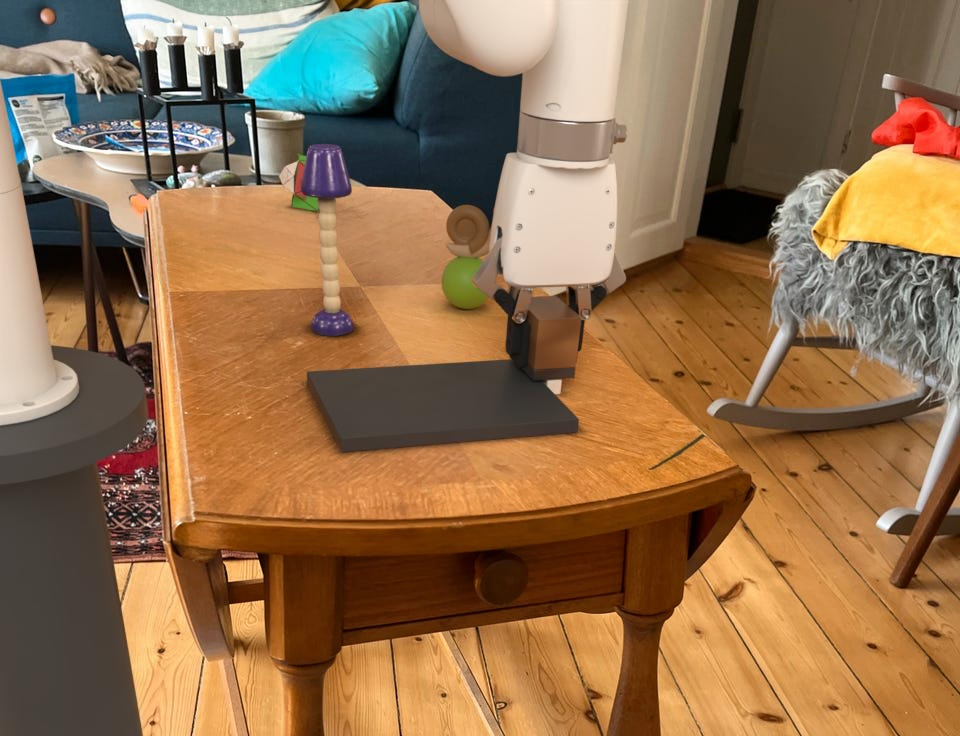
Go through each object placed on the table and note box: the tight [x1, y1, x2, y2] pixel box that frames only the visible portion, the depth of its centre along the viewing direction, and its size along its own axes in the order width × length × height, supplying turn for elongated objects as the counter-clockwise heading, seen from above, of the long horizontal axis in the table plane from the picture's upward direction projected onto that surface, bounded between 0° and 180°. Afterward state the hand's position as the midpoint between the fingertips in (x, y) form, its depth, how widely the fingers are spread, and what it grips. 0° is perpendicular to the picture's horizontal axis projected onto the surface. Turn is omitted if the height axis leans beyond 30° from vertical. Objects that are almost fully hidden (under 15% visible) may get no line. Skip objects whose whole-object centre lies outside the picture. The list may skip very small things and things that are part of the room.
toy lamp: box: [301, 143, 355, 337], centre depth 98 cm, size 5×5×17 cm
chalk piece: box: [542, 379, 563, 395], centre depth 93 cm, size 1×2×1 cm
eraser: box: [521, 295, 582, 381], centre depth 92 cm, size 4×6×6 cm, turn 18°
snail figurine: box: [441, 204, 495, 310], centre depth 107 cm, size 5×6×12 cm
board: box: [306, 358, 580, 453], centre depth 88 cm, size 20×14×1 cm
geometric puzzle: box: [278, 153, 320, 213], centre depth 140 cm, size 7×7×8 cm
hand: (542, 358), depth 93 cm, fingers closed on eraser, 4 cm apart
